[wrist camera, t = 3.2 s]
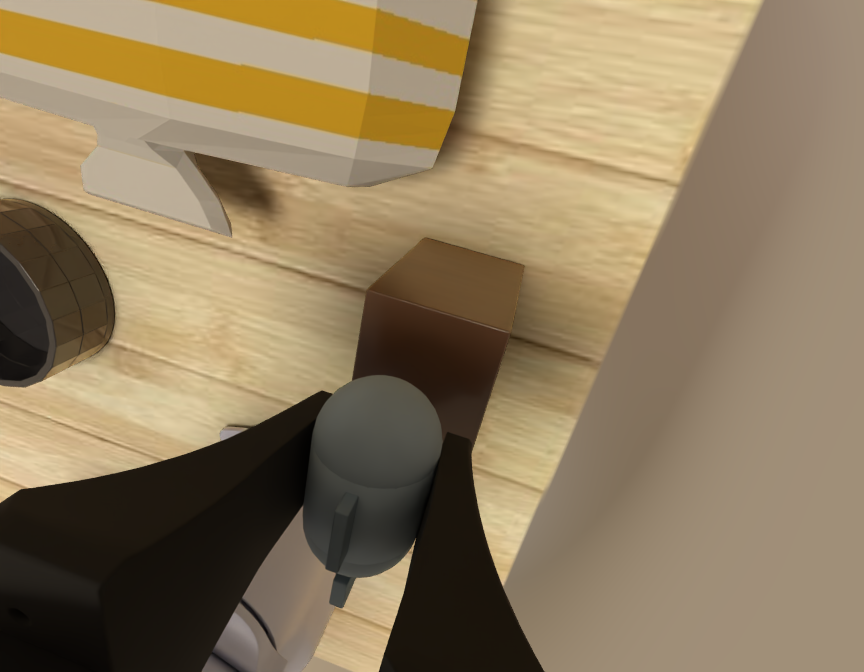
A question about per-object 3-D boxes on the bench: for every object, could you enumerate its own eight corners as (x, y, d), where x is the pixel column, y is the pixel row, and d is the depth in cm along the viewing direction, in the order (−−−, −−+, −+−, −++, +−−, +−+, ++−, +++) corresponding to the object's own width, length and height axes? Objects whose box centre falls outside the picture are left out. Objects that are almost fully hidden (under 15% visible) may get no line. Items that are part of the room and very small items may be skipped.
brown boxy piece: (486, 384, 22) (460, 485, 16) (399, 356, 23) (340, 444, 16) (524, 265, 20) (511, 332, 13) (424, 237, 20) (365, 289, 14)
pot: (136, 360, 27) (82, 391, 24) (15, 355, 29) (-50, 383, 26) (76, 194, 23) (2, 205, 20) (-58, 202, 25) (-144, 213, 22)
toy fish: (414, 549, 14) (375, 669, 11) (323, 516, 15) (260, 624, 11) (466, 374, 11) (433, 470, 8) (351, 338, 12) (278, 417, 9)
